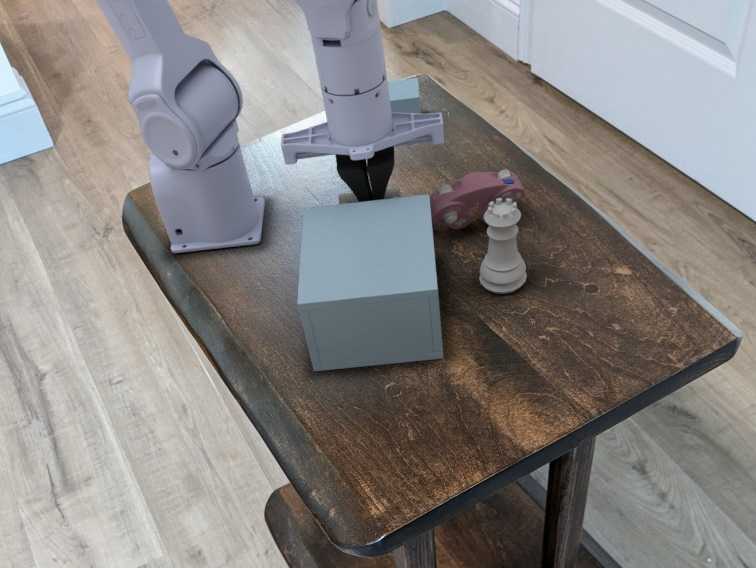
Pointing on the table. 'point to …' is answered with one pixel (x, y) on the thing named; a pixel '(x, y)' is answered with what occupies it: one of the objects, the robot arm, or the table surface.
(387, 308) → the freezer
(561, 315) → the table surface
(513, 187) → the pink toy car
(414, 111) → the ice block
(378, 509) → the table surface
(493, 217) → the rook chess piece
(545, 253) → the table surface
